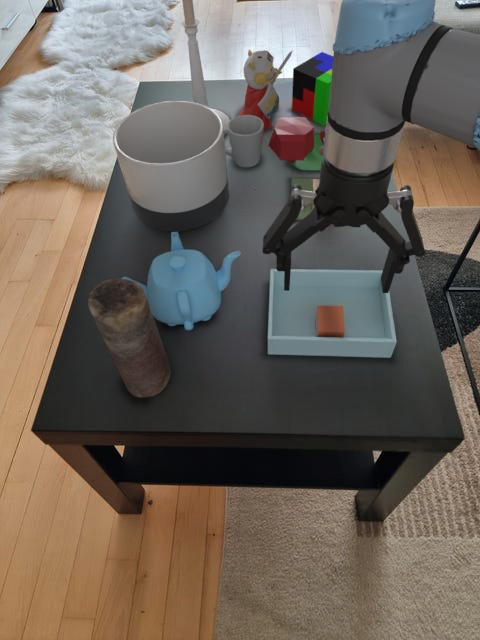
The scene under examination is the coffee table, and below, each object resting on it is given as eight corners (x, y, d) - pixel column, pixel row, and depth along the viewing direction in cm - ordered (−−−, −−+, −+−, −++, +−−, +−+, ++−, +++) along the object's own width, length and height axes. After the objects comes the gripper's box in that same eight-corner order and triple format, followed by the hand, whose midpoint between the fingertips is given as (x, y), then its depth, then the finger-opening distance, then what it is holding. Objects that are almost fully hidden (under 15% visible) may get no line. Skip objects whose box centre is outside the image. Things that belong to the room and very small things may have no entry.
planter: (151, 175, 105) (132, 97, 90) (238, 182, 102) (232, 103, 87) (123, 237, 94) (96, 160, 79) (219, 247, 91) (209, 169, 76)
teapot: (187, 260, 89) (178, 214, 80) (245, 295, 84) (241, 249, 75) (127, 313, 83) (109, 270, 74) (185, 354, 77) (173, 313, 68)
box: (381, 287, 83) (386, 270, 79) (390, 357, 75) (396, 342, 71) (270, 285, 85) (270, 268, 81) (267, 354, 76) (267, 338, 73)
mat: (349, 180, 100) (349, 178, 100) (353, 220, 93) (353, 218, 93) (291, 180, 101) (291, 178, 101) (291, 219, 94) (291, 217, 94)
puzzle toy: (318, 93, 120) (321, 51, 112) (350, 107, 116) (356, 65, 108) (291, 110, 116) (293, 68, 108) (323, 125, 112) (327, 83, 104)
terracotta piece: (339, 322, 79) (343, 305, 75) (341, 347, 76) (344, 331, 72) (315, 321, 79) (317, 304, 75) (315, 347, 76) (318, 331, 73)
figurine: (281, 134, 111) (283, 68, 99) (233, 130, 113) (229, 65, 101) (290, 103, 118) (292, 38, 106) (245, 100, 120) (242, 36, 108)
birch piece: (331, 197, 97) (333, 179, 93) (332, 214, 94) (334, 196, 90) (311, 197, 97) (312, 179, 93) (311, 214, 94) (313, 196, 90)
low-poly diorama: (270, 135, 111) (270, 98, 104) (358, 135, 109) (364, 98, 102) (266, 176, 102) (266, 139, 95) (361, 177, 100) (368, 139, 93)
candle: (139, 351, 78) (104, 269, 62) (180, 363, 76) (155, 282, 60) (117, 391, 74) (73, 315, 58) (160, 405, 72) (127, 330, 56)
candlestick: (226, 108, 118) (215, -36, 94) (233, 138, 111) (222, -9, 87) (175, 115, 118) (150, -28, 94) (178, 145, 110) (152, -1, 86)
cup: (264, 170, 103) (263, 135, 97) (218, 171, 104) (214, 136, 97) (264, 149, 108) (264, 114, 101) (220, 150, 109) (217, 115, 102)
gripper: (473, 134, 51) (421, 266, 69) (242, 134, 53) (248, 262, 71) (490, 179, 47) (430, 308, 64) (237, 177, 49) (245, 303, 66)
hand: (335, 284), depth 68 cm, fingers open, 13 cm apart
